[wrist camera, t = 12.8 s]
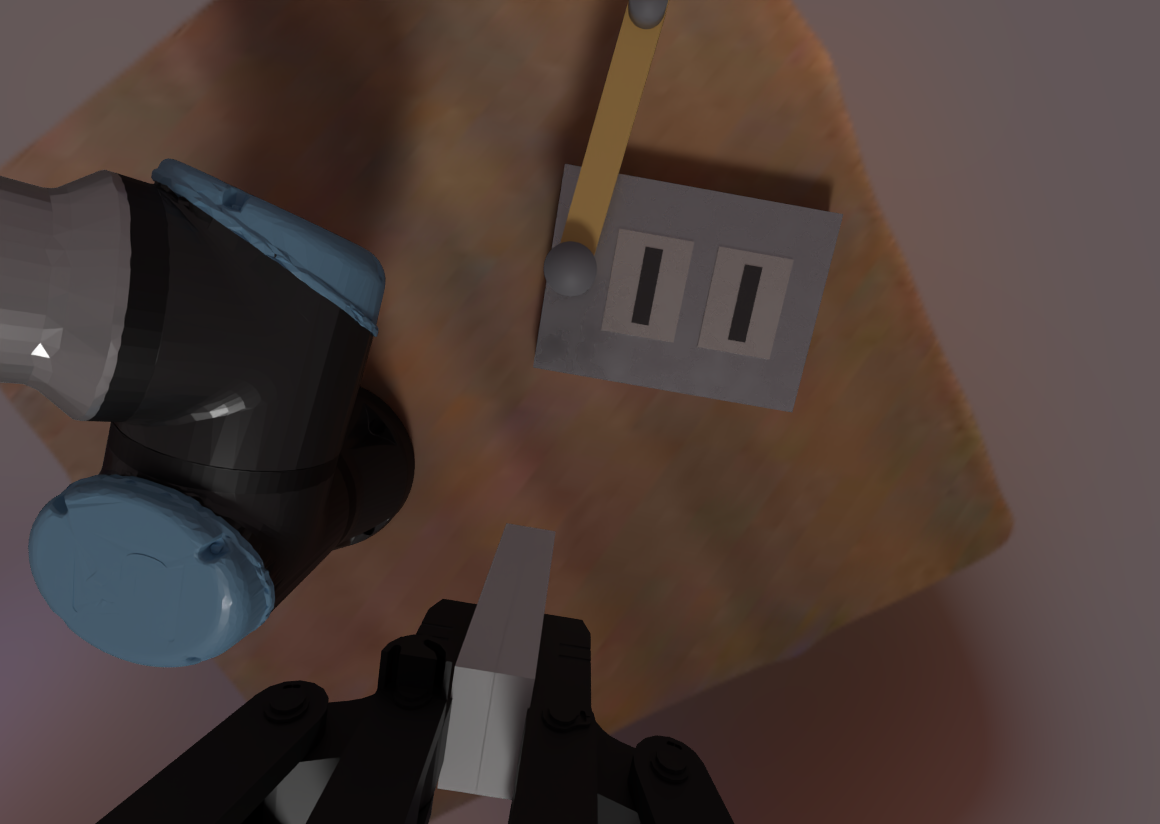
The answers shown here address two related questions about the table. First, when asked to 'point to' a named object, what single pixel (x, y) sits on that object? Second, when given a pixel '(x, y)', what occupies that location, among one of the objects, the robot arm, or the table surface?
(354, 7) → the table surface
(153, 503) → the robot arm
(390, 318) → the table surface
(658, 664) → the table surface
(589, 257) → the yellow wooden bar
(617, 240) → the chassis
